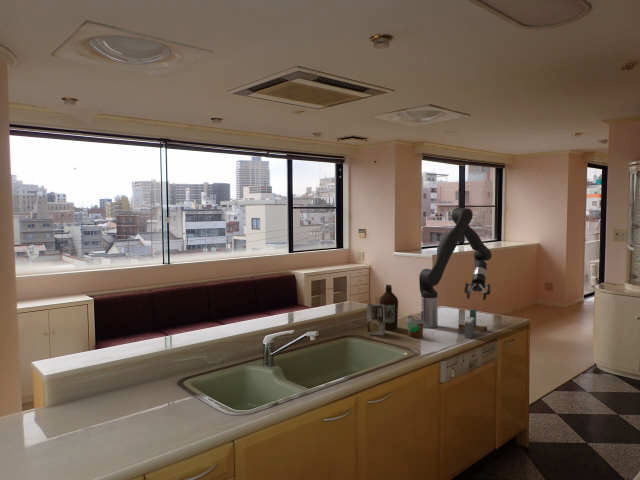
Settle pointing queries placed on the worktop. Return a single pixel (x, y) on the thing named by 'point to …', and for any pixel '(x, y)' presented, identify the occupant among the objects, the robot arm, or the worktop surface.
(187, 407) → the worktop surface
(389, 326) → the olive oil
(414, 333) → the food container
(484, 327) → the beam
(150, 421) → the worktop surface
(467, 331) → the block
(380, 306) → the coffee box
